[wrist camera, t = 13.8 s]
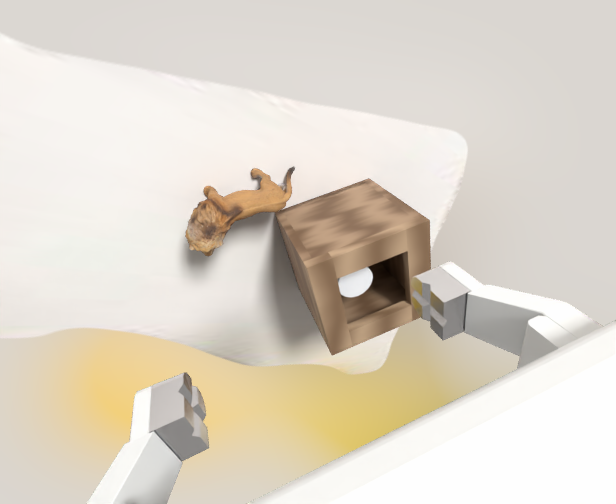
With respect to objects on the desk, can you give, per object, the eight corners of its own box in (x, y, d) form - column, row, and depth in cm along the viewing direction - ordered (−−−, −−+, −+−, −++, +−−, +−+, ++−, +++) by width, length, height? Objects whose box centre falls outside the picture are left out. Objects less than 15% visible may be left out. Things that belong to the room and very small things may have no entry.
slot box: (299, 289, 53) (332, 355, 42) (274, 212, 45) (306, 268, 34) (379, 257, 55) (431, 312, 43) (369, 178, 47) (429, 220, 36)
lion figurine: (198, 234, 43) (202, 272, 36) (174, 199, 40) (173, 233, 33) (300, 182, 44) (324, 209, 37) (284, 145, 41) (307, 166, 34)
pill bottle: (346, 254, 51) (377, 293, 43) (310, 264, 50) (335, 307, 42) (343, 221, 48) (376, 257, 40) (305, 231, 47) (331, 270, 39)
